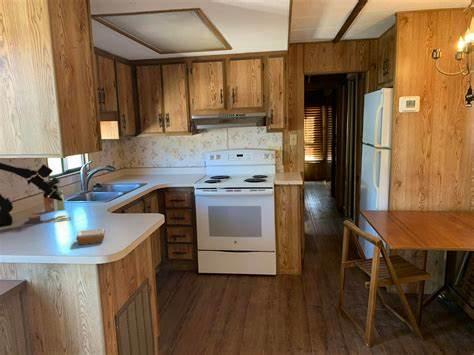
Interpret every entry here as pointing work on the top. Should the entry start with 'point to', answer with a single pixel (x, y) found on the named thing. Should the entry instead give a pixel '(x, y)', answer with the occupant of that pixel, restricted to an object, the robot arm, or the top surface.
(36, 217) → the button
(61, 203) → the ball
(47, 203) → the small box
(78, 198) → the top surface
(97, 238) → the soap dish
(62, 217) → the picture board
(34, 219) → the button housing
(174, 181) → the top surface
